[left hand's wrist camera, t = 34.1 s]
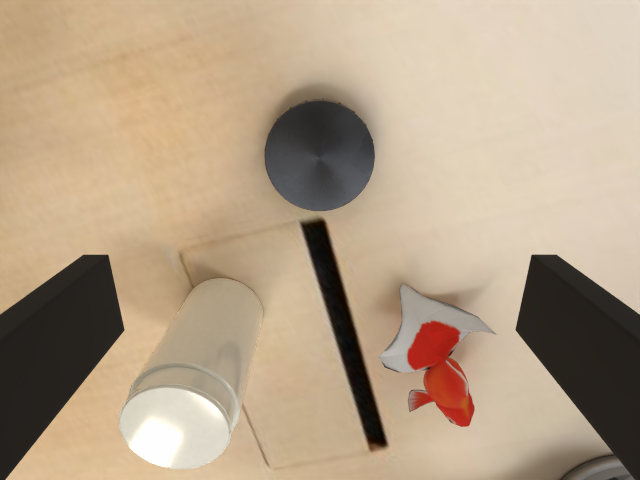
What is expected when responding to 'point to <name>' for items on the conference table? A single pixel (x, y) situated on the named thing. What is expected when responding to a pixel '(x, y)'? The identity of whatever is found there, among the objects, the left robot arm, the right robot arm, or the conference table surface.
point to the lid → (319, 155)
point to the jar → (195, 378)
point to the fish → (433, 353)
